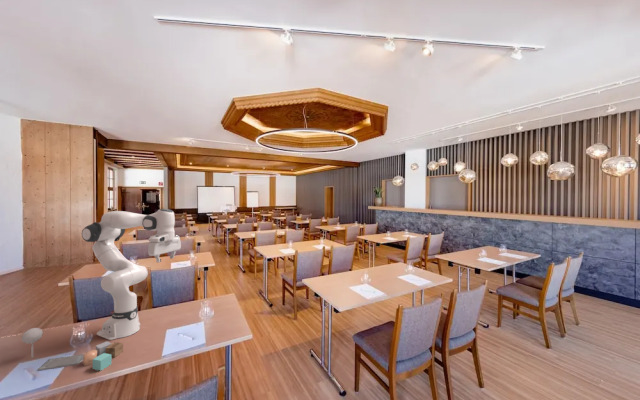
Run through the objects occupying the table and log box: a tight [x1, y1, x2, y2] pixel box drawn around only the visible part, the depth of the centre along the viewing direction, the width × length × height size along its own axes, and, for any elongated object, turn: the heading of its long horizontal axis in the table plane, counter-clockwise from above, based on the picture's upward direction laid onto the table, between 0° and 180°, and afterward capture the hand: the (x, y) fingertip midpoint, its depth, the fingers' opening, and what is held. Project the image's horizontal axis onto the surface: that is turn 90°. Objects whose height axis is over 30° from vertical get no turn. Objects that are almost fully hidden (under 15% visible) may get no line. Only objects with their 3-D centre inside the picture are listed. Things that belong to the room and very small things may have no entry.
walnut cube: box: [106, 341, 124, 358], centre depth 132 cm, size 5×5×5 cm
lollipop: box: [21, 327, 44, 359], centre depth 128 cm, size 7×7×15 cm
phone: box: [37, 353, 84, 372], centre depth 125 cm, size 8×16×1 cm, turn 108°
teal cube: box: [92, 353, 113, 372], centre depth 122 cm, size 5×5×5 cm
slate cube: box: [95, 340, 112, 357], centre depth 132 cm, size 5×5×5 cm
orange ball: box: [82, 349, 98, 367], centre depth 125 cm, size 5×5×5 cm
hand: (165, 260), depth 146 cm, fingers open, 8 cm apart
